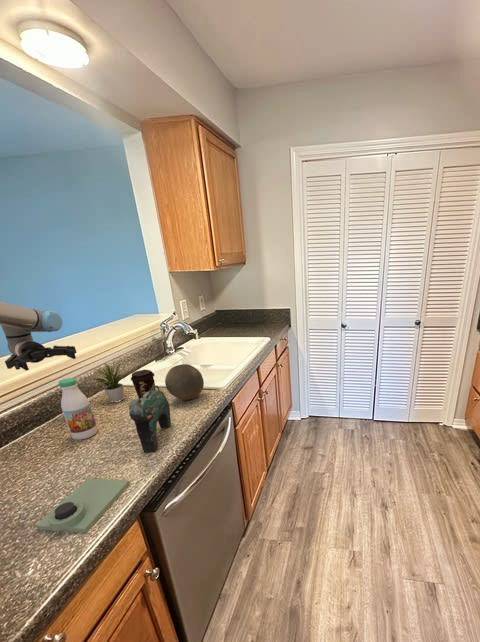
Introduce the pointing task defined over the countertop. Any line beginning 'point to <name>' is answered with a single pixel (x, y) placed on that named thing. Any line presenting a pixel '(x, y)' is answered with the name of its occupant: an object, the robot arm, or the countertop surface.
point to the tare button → (65, 510)
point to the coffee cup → (143, 381)
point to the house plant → (111, 383)
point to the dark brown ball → (184, 382)
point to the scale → (86, 505)
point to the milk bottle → (77, 410)
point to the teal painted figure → (150, 417)
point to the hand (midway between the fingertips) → (51, 360)
